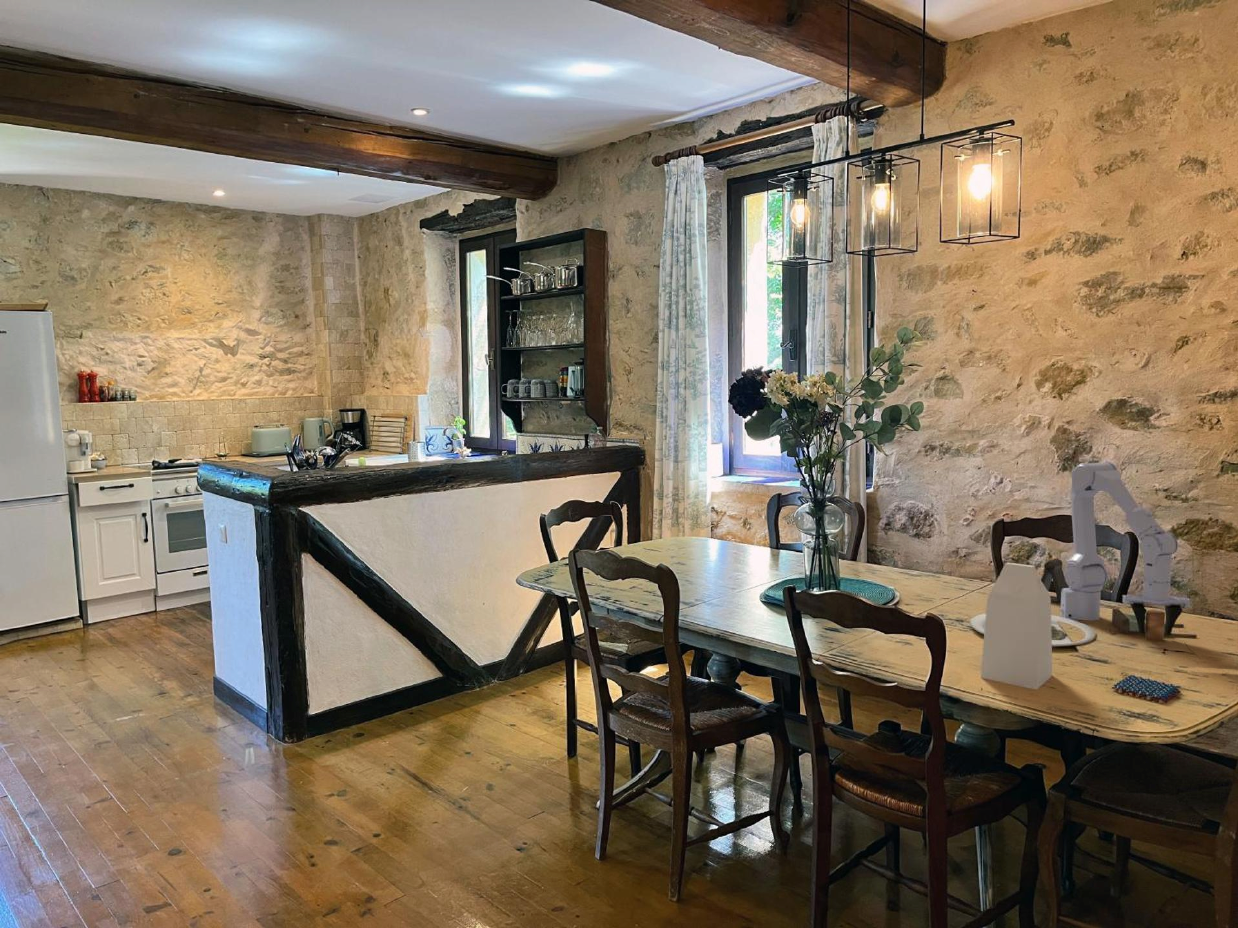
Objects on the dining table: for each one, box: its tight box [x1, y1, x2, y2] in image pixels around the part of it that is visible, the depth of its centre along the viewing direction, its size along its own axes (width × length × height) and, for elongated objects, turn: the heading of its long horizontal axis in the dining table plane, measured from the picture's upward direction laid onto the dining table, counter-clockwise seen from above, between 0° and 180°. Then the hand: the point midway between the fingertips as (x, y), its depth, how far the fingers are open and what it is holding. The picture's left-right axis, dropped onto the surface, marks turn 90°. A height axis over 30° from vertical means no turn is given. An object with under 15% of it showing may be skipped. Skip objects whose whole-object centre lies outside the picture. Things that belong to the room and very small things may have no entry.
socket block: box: [1122, 612, 1165, 633], centre depth 226 cm, size 8×8×3 cm
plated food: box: [970, 612, 1097, 648], centre depth 229 cm, size 30×30×3 cm
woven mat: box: [1111, 674, 1182, 704], centre depth 187 cm, size 10×11×2 cm
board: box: [1111, 608, 1197, 639], centre depth 223 cm, size 17×16×5 cm
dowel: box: [1144, 609, 1166, 642], centre depth 218 cm, size 4×4×7 cm
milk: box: [980, 562, 1053, 690], centre depth 196 cm, size 12×12×26 cm
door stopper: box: [1040, 558, 1069, 605], centre depth 261 cm, size 9×6×12 cm, turn 42°
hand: (1154, 633), depth 219 cm, fingers open, 5 cm apart
